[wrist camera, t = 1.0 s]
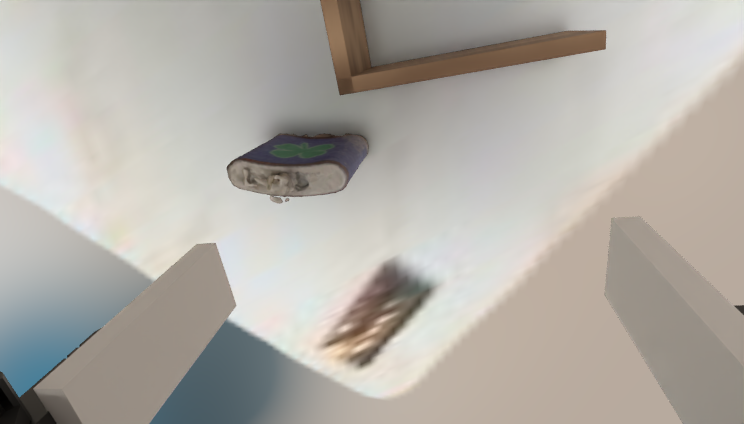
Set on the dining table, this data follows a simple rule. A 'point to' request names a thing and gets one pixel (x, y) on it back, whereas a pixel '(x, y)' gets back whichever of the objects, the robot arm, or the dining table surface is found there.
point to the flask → (299, 165)
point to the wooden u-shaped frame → (359, 75)
